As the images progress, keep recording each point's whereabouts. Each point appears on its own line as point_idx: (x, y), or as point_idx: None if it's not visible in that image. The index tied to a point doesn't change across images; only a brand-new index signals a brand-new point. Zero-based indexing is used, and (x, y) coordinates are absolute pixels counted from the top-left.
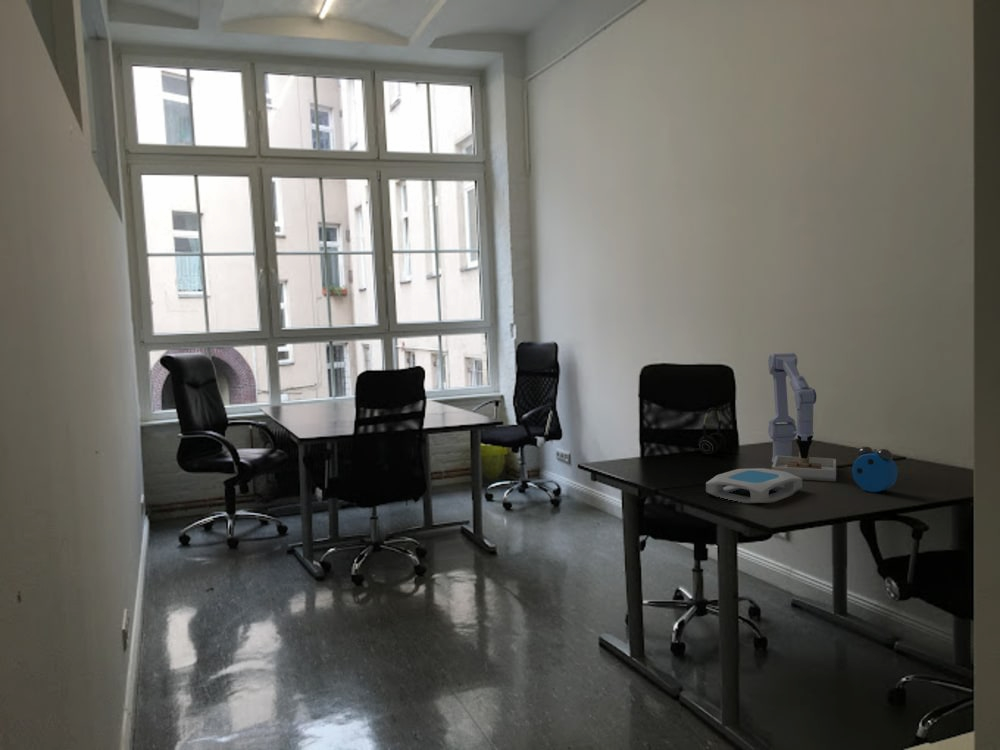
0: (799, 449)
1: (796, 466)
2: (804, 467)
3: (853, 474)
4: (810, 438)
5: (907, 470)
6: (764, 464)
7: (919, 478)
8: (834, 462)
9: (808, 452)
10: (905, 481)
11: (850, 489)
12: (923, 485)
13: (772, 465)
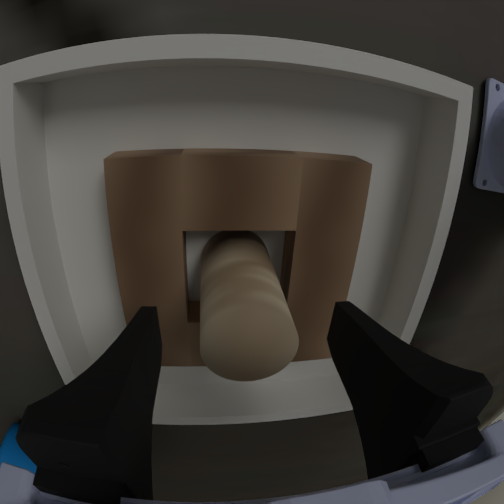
0: (102, 355)
1: (175, 229)
2: (159, 283)
3: (2, 442)
4: (372, 470)
5: (342, 476)
6: (443, 27)
7: (250, 496)
8: (289, 415)
9: (251, 376)
10: (202, 487)
11: (12, 396)
12: (172, 499)
13: (45, 54)
